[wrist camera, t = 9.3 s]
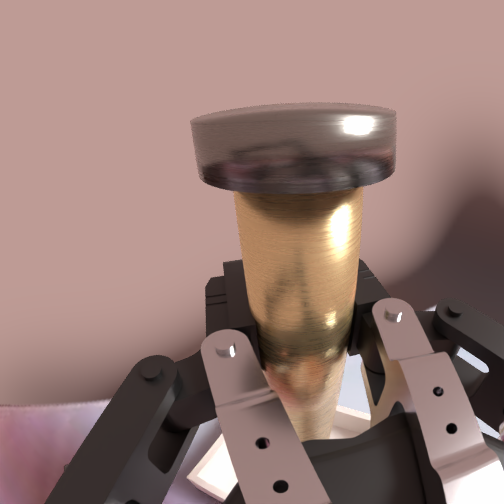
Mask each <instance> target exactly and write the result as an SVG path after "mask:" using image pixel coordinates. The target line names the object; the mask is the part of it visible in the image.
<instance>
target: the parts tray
mask: <svg viewBox="0 0 504 504" xmlns="http://www.w3.org/2000/svg"><path fill="white" fill-rule="evenodd" d="M370 420H371V415H370V414H367V413H363V412H360V411H356V410H353V409H349V408H346V407H343V406H339V405H337V408H336V412H335V417H334V421H333V425H332V430H331V434H330V438H329V439H343V438H353V437H356V436H358V435H360V434H361V433H363V432H365V431H366V430H368V429H370ZM187 478H188V479H189V480H190V481H191V482H192V483H193V484H194V485H195V486H196V487H197V488H198V489H199V490H201V491H203V492H204V493H206V494H208V495H210V496H211V497H213V498H215V499H217V500H218V501H220V502H222V503H223V502H224V500H225V499H226V497H227V496H228V495H229V493H230V492H231V490H232V489H233V487H234V486H235V485H236V483H237V482H238V480H237V477H236V474H235V471H234V468H233V465H232V462H231V459H230V456H229V453H228V450H227V446H226V443H225V440H224V437H223V434H221V435H220V437H219V438H218V439H217V440H216V442H215V443H214V444H213V445H212V447H211V448H210V449H209V450H208V452H207V453H206V454H205V455H204V457H203V458H202V459H201V460H200V462H199V463H198V464H197V465H196V466H195V468H194V469H193V470H192V471H191V472H190V474H189V475H188V476H187Z"/></svg>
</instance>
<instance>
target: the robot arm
mask: <svg viewBox="0 0 504 504" xmlns="http://www.w3.org/2000/svg"><path fill="white" fill-rule="evenodd" d="M223 268H224V276H220V277H213V278H211V279H210V280H209V282H208V283H207V285H206V287H205V294H206V295H205V296H206V339H205V340H204V341H203V343H202V345H201V349H200V350H199V351H198V352H197V353H195V354H194V355H192V356H190V357H188V358H186V359H183V360H180V361H178V362H175V363H174V362H173V360H171V359H170V358H168V357H166V356H161V355H154V356H149V357H147V358H144V359H142V360H141V361H139V362H138V363H137V364H136V365H135V366H134V367H133V369H132V370H131V372H130V373H129V374H128V376H127V377H126V379H125V381H124V382H123V383H122V385H121V386H120V388H119V389H118V391H117V392H116V394H115V395H114V396H113V398H112V399H111V401H110V402H109V404H108V405H107V407H106V408H105V410H104V411H103V413H102V414H101V416H100V417H99V419H98V420H97V422H96V423H95V425H94V426H93V428H92V429H91V431H90V433H89V434H88V436H87V437H86V439H85V440H84V442H83V443H82V445H81V446H80V448H79V449H78V451H77V453H76V454H75V456H74V457H73V459H72V460H71V462H70V463H69V465H68V467H67V468H66V470H65V471H64V473H63V475H62V476H61V478H60V479H59V481H58V482H57V484H56V486H55V487H54V489H53V491H52V492H51V494H50V495H49V497H48V499H47V500H46V502H45V504H162V502H163V500H164V498H165V496H166V494H167V492H168V490H169V488H170V486H171V484H172V482H173V480H174V478H175V476H176V474H177V472H178V470H179V468H180V465H181V463H182V461H183V459H184V457H185V455H186V453H187V451H188V449H189V447H190V445H191V443H192V440H193V438H194V436H195V434H196V432H197V430H198V428H199V425H200V424H202V423H205V422H207V421H210V420H212V419H214V418H217V417H218V420H219V424H220V427H221V430H222V434H223V437H224V440H225V443H226V446H227V450H228V453H229V456H230V459H231V462H232V465H233V468H234V471H235V474H236V477H237V480H238V482H237V483H236V485H235V486H234V487H233V489H232V490H231V492H230V493H229V495H228V496H227V497H226V499H225V500H224V502H223V503H222V504H504V326H503V325H501V324H500V323H498V322H497V321H495V320H493V319H491V318H490V317H488V316H487V315H485V314H483V313H482V312H480V311H478V310H477V309H475V308H473V307H472V306H470V305H468V304H467V303H465V302H463V301H461V300H458V299H455V298H446V299H443V300H441V301H439V302H438V304H437V306H436V309H435V311H414V310H413V309H412V307H411V306H410V305H409V304H408V303H406V302H405V301H402V300H400V299H395V298H391V297H390V295H389V294H388V293H387V291H386V290H385V289H384V287H383V286H382V285H381V283H380V282H379V281H378V279H377V278H376V277H374V274H373V273H372V272H371V271H370V270H369V268H368V267H367V265H366V264H365V263H364V262H363V261H362V260H360V259H359V264H358V274H357V284H356V293H355V301H354V309H353V317H352V324H351V331H350V337H349V344H348V350H347V352H348V354H349V356H353V355H357V354H360V355H361V357H362V362H361V373H362V377H363V381H364V385H365V389H366V393H367V398H368V402H369V407H370V412H371V420H370V429H368V430H366V431H365V432H363V433H361V434H360V435H358V436H356V437H353V438H343V439H312V440H308V441H304V442H301V441H300V439H299V437H298V435H297V433H296V431H295V429H294V427H293V425H292V423H291V421H290V419H289V417H288V415H287V412H286V410H285V408H284V406H283V404H282V402H281V400H280V398H279V396H278V394H277V393H276V391H275V390H271V388H270V387H269V384H268V382H267V380H266V378H265V376H264V373H263V371H262V368H261V360H260V353H259V345H258V338H257V330H256V323H255V319H254V317H253V316H252V314H251V312H250V308H249V302H248V295H247V288H246V281H245V274H244V266H243V260H235V261H229V262H223ZM460 347H462V348H463V349H465V350H466V351H468V352H469V353H471V354H472V355H474V356H475V357H477V358H478V359H480V360H481V361H483V362H484V363H485V364H486V365H487V366H488V368H489V372H488V373H483V372H481V371H480V370H478V369H477V368H475V367H474V366H472V365H471V364H469V363H468V362H466V361H465V360H463V359H462V358H460V357H459V356H457V353H458V351H459V349H460ZM475 416H476V417H478V418H479V419H481V420H482V421H483V422H485V423H486V424H487V425H489V426H490V427H491V428H493V429H494V430H495V431H497V432H498V433H500V436H499V437H498V439H496V438H494V437H492V436H490V435H487V434H485V433H483V432H481V430H480V428H479V425H478V422H477V420H476V417H475Z"/></svg>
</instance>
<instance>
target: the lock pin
mask: <svg viewBox="0 0 504 504" xmlns="http://www.w3.org/2000/svg"><path fill="white" fill-rule="evenodd" d="M190 123H191V129H192V136H193V142H194V149H195V155H196V161H197V167H198V174H199V177H200V179H201V180H202V181H203V182H205V183H207V184H209V185H211V186H214V187H217V188H221V189H225V190H231V191H233V193H234V200H235V208H236V215H237V223H238V230H239V237H240V245H241V251H242V259H243V266H244V274H245V281H246V288H247V295H248V302H249V308H250V312H251V314H252V316H253V317H254V319H255V323H256V330H257V338H258V345H259V353H260V360H261V368H262V371H263V373H264V376H265V378H266V380H267V382H268V384H269V387H270V388H271V390H275V391H276V393H277V394H278V396H279V398H280V400H281V402H282V404H283V406H284V408H285V410H286V412H287V415H288V417H289V419H290V421H291V423H292V425H293V427H294V429H295V431H296V433H297V435H298V437H299V439H300V441H301V442H304V441H308V440H312V439H329V438H330V434H331V430H332V425H333V421H334V417H335V412H336V408H337V403H338V398H339V393H340V388H341V383H342V378H343V373H344V367H345V362H346V356H347V350H348V344H349V337H350V331H351V324H352V317H353V309H354V301H355V293H356V284H357V274H358V264H359V253H360V240H361V225H362V206H363V205H362V204H363V186H367V185H371V184H374V183H377V182H380V181H382V180H384V179H386V178H388V177H389V176H391V175H392V174H393V173H394V171H395V164H396V111H394V110H391V109H388V108H383V107H377V106H370V105H361V104H348V103H288V104H287V103H286V104H272V105H261V106H253V107H245V108H238V109H231V110H226V111H220V112H215V113H211V114H207V115H203V116H200V117H197V118H194V119H192V120H191V121H190Z"/></svg>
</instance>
